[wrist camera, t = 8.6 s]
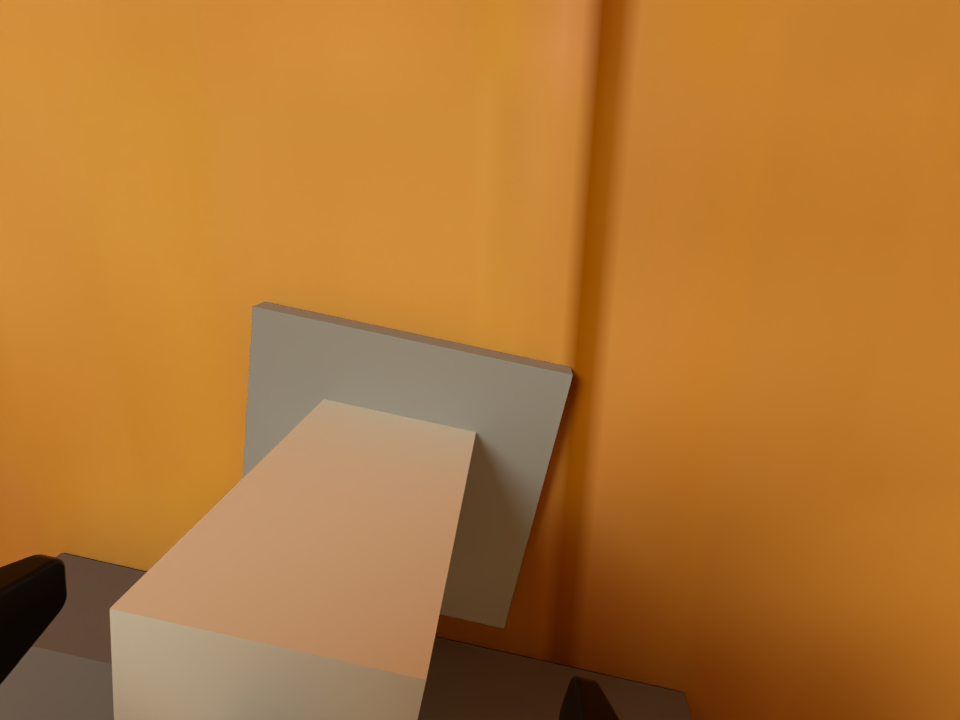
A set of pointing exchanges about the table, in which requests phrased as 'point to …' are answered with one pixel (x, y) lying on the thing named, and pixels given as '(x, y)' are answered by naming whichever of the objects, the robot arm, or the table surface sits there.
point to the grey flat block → (445, 703)
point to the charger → (302, 581)
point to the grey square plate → (428, 397)
